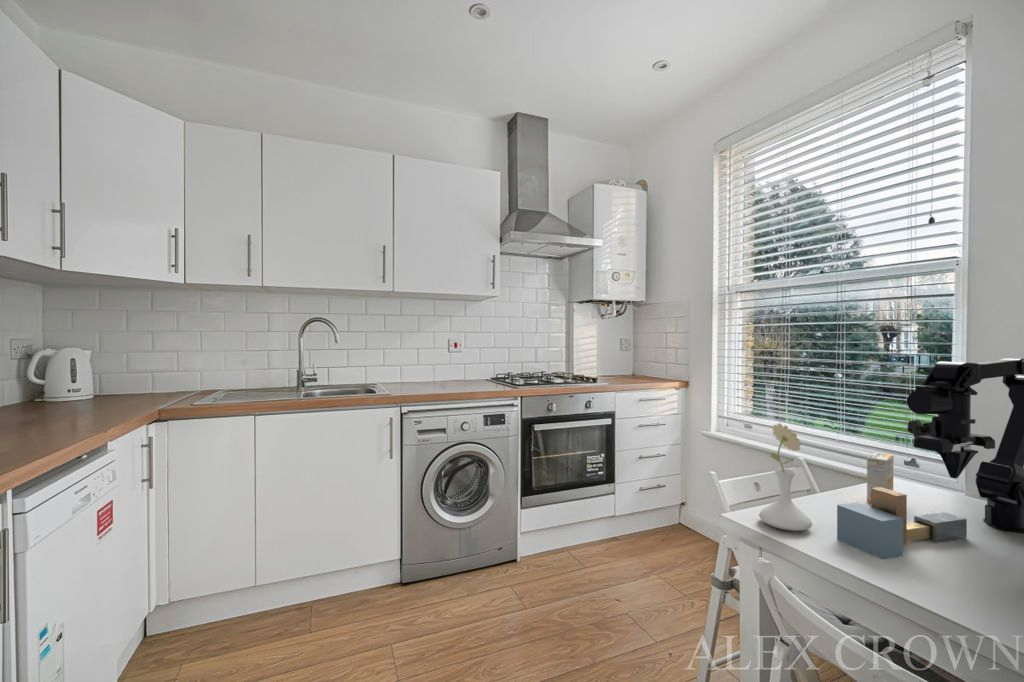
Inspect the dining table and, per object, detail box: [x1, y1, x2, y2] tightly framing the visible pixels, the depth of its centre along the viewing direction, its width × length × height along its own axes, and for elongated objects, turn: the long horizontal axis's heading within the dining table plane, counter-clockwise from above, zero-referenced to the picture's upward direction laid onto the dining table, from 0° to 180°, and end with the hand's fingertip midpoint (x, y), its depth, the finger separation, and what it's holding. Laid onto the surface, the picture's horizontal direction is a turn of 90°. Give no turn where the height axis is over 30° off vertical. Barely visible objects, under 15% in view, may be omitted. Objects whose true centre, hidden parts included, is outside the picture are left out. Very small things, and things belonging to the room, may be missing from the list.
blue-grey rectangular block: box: [836, 502, 904, 560], centre depth 102 cm, size 6×10×8 cm, turn 15°
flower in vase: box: [758, 423, 813, 532], centre depth 114 cm, size 13×11×25 cm
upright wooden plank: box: [870, 487, 933, 546], centre depth 104 cm, size 20×6×11 cm, turn 105°
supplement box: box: [866, 452, 894, 503], centre depth 132 cm, size 8×5×13 cm, turn 130°
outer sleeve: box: [913, 511, 968, 544], centre depth 107 cm, size 10×4×5 cm, turn 105°
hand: (953, 477), depth 111 cm, fingers closed
